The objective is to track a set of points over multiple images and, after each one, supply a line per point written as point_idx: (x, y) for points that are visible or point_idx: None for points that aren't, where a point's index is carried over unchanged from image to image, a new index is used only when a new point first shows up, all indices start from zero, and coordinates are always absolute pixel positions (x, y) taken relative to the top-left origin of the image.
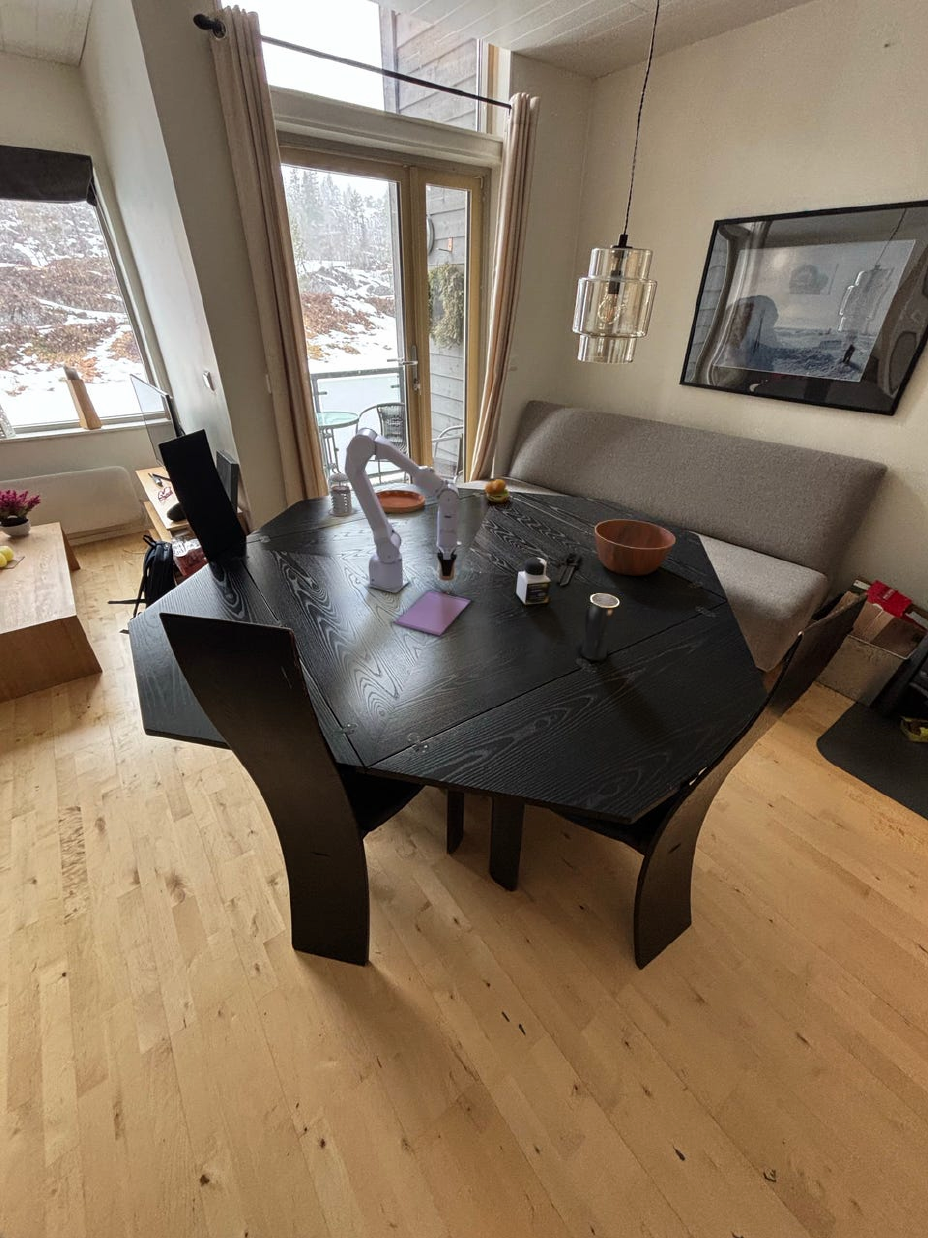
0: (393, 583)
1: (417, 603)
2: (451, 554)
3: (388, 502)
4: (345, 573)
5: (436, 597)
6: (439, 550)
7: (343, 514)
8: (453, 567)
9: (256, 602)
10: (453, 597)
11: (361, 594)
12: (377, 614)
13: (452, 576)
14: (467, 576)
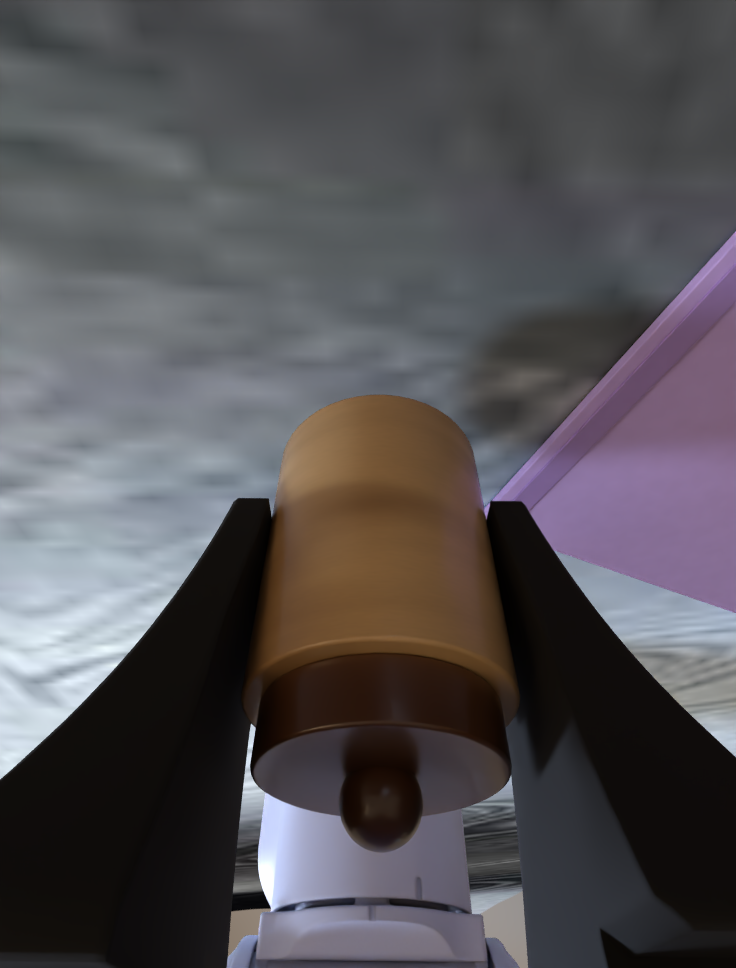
0: None
1: (681, 585)
2: (661, 954)
3: None
4: (258, 788)
5: (627, 480)
6: (230, 885)
7: None
8: (445, 544)
9: (495, 869)
10: (691, 335)
11: None
12: (711, 705)
13: (446, 442)
14: (17, 105)
